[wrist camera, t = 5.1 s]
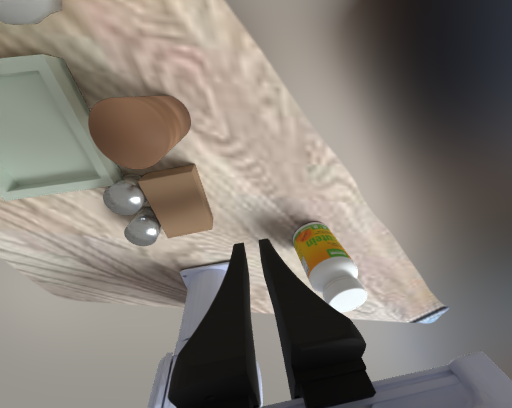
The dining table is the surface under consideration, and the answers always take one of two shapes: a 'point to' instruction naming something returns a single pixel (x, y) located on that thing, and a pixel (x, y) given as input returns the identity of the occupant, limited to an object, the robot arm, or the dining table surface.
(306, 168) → the dining table surface
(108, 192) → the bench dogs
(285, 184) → the dining table surface
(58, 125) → the tray
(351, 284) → the supplement bottle
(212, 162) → the dining table surface
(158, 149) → the dowel
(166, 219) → the wooden block
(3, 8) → the salt shaker
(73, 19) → the dining table surface
